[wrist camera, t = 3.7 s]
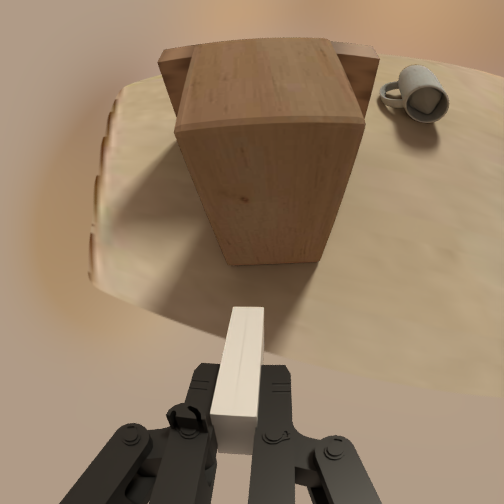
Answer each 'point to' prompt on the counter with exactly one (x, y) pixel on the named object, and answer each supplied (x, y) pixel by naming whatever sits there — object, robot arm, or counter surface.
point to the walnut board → (350, 55)
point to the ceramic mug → (418, 94)
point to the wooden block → (269, 144)
